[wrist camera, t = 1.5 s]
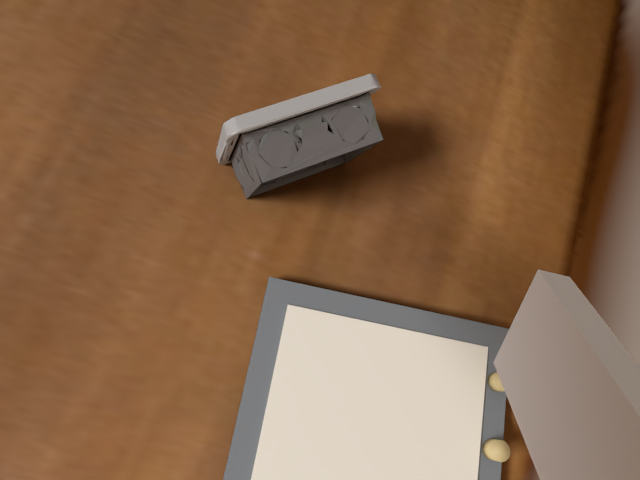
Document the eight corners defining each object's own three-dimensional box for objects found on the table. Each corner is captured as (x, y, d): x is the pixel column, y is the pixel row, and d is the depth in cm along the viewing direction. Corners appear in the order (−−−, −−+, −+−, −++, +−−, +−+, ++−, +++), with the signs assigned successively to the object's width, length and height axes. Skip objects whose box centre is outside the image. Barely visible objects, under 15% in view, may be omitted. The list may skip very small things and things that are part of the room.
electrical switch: (334, 116, 39) (366, 44, 30) (362, 178, 38) (404, 124, 29) (213, 156, 36) (209, 92, 27) (241, 224, 36) (246, 180, 27)
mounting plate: (268, 281, 34) (270, 272, 32) (500, 331, 35) (520, 326, 33) (210, 537, 29) (207, 549, 27) (482, 585, 30) (502, 601, 28)
